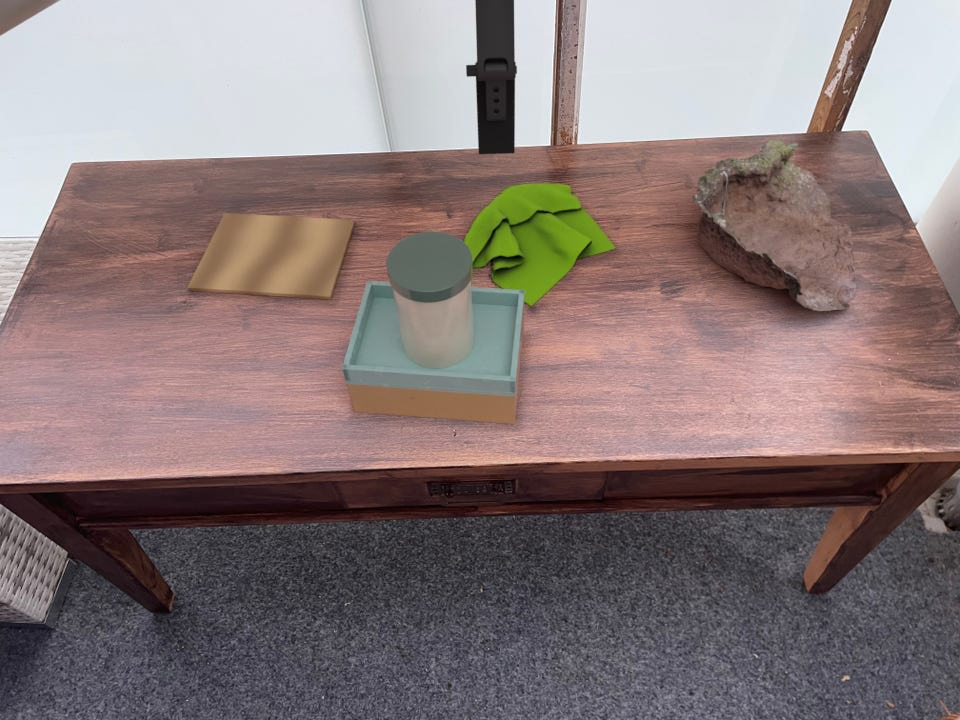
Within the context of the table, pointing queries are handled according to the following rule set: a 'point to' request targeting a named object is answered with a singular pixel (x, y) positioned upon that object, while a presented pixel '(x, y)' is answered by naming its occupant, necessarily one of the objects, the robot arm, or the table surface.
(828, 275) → the rock
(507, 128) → the robot arm
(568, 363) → the table surface
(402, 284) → the jar
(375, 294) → the teal and tan box
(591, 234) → the cloth
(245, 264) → the mat
